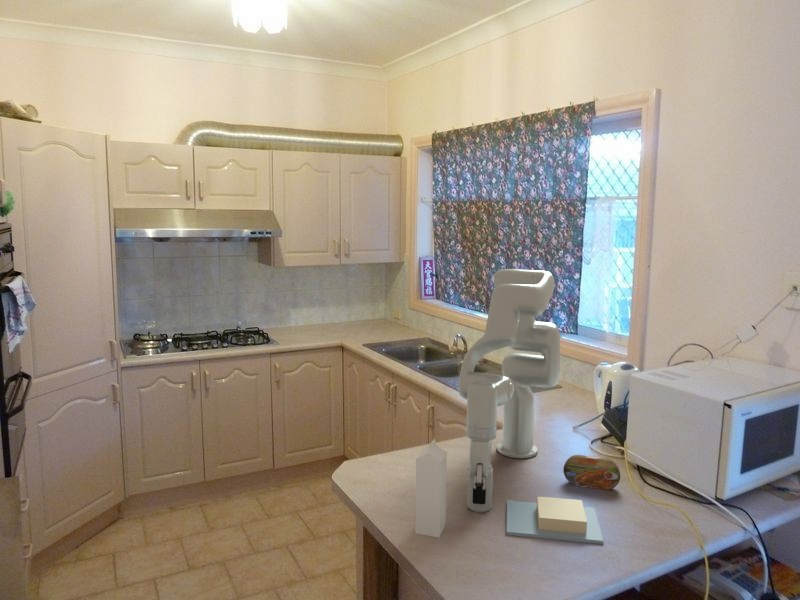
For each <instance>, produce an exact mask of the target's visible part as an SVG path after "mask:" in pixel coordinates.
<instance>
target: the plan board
mask: <svg viewBox="0 0 800 600" xmlns="http://www.w3.org/2000/svg"><path fill="white" fill-rule="evenodd" d="M602 534H603V533H602V530H601V527H600V523H599V519H598V516H597V512H596V509H595V507H587V506H584V504H583V499H571V498H561V497H560V498H558V497H548V496H537V497H536V502H533V501H531V502H530V501H517V500H508V499H507V500H506V535H507V536H515V537H517V536H518V537H525V538H526V537H527V538H534V539H535V538H537V539H545V540H546V539H547V540H548V539H549V540H557V541H559V540H560V541H565V542H567V541H568V542H577V543H578V542H579V543H588V544H599V545H604V538H603V535H602Z"/></svg>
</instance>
